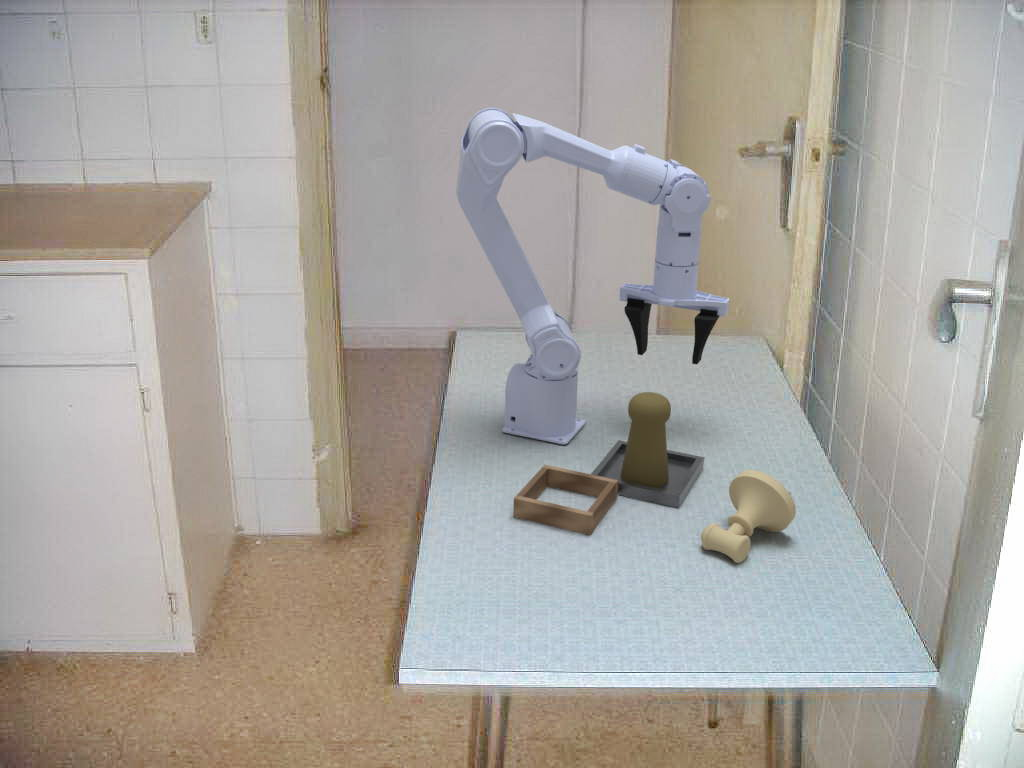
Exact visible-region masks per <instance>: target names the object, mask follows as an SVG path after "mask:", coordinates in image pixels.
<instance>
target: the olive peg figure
mask: <svg viewBox="0 0 1024 768" xmlns="http://www.w3.org/2000/svg"><path fill="white" fill-rule="evenodd" d="M627 407H628V408H627V410H628V412H627V413H628V417H629V418H630V419H631V424H630V429H629V433H628V438H627V441H626V442H627V447H626V451H625V456H624V461H623V466H622V471H621V478H622V480H623V481H625V482H630V483H634V484H639V485H644V486H648V487H653V488H656V487H660V486H663V485H665V484H666V483H667V482H668V481H669V474H668V458H667V450H668V446H667V431H666V430H667V429H666V428H667V427H666V423H667V422H668V421H669V420H670V417H671V415H672V414H671V413H672V412H671V411H672V407H671V402H670V400H669V399H668V398H667V397H666V396H665V395H662V394H660V393H658V392H653V391H645V392H639V393H638V394H635V395H633V396H632V397H631V399H629V403H628V406H627Z"/></svg>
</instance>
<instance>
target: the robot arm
mask: <svg viewBox="0 0 1024 768" xmlns="http://www.w3.org/2000/svg"><path fill="white" fill-rule="evenodd" d="M511 115H513V117H514V119H515V120H516V121H514V119H513V117H512V116H510V114H509V113H508V112H506V111H505V110H503V109H500V108H497V107H488V108H487V107H486V108H483V109H482V110H479V111H477V112H476V113H475V114H474V115H473V116H472V117H471V118H470V120H469V122H468V125H467V126H466V128H465V130H464V133H463V134H462V136H461V140H460V151H459V160H458V161H459V162H458V163H459V164H458V171H457V180H456V188H455V189H456V191H455V192H456V193H455V194H456V197H457V201H458V204H459V206H460V208H461V209H462V211H463V214H464V216H465V218H466V220H467V221H468V223H469V225H470V227H471V229H472V230H473V233H474V235H475V236H476V238H477V240H478V242H479V244H480V246H481V248H482V250H483V252H484V253H485V256H486V258H487V259H488V262H489V263H490V264H491V267H492V269H493V271H494V273H495V275H496V276H497V278H498V280H499V283H500V284H501V286H502V288H503V289H504V292H505V293H506V296H507V298H508V299H509V301H510V304H511V305H512V307H513V308H514V310H515V312H516V315H517V316H518V318H519V320H520V323H521V325H522V327H523V330H524V331H525V341H526V343H527V347H528V348H529V350H530V352H531V354H530V355H529V357H528V359H527V361H526V362H524V363H522V362H521V363H518V362H517V363H515V364H513V365H512V366H511V368H510V370H509V372H508V375H507V379H506V382H505V390H504V393H505V394H504V395H505V396H504V426H503V428H502V433H506V434H510V435H515V436H521V437H525V438H529V439H535V440H540V441H544V442H549V443H554V444H558V445H565V446H566V445H567V444H568V443H569V442H570V441H571V440H572V439H573V438H574V437H575V436H576V435H577V433H578V432H579V431H580V430H581V429H583V427H584V426H585V425H586V420H585V419H582V418H577V407H578V406H577V403H578V402H577V400H578V383H579V381H578V379H579V365H580V362H581V359H582V353H581V349H580V346H579V344H578V342H577V341H576V340H575V337H574V335H573V334H572V331H571V326H570V323H569V322H568V320H567V319H566V318H565V317H564V316H562V315H561V314H559V313H558V312H557V311H556V310H555V309H554V307H553V306H552V303H551V302H550V300H549V298H548V297H547V295H546V293H545V291H544V289H543V287H542V285H541V283H540V281H539V279H538V277H537V275H536V274H535V271H534V270H533V268H532V266H531V264H530V262H529V259H528V258H527V256H526V254H525V252H524V250H523V248H522V246H521V244H520V242H519V240H518V238H517V236H516V234H515V232H514V230H513V228H512V226H511V224H510V223H509V220H508V219H507V216H506V214H505V212H504V211H503V209H502V207H501V206H502V205H500V202H499V201H498V198H497V197H498V194H499V192H500V189H501V187H502V185H503V182H504V179H505V177H506V176H507V175H508V174H509V173H510V172H511V171H512V170H513V169H514V168H515V166H516V165H517V164H518V162H519V161H520V160H521V158H523V160H524V161H525V163H531V162H534V161H536V160H539V159H542V158H545V157H546V158H547V157H549V158H551V159H554V160H557V161H561V162H563V163H566V164H568V165H569V164H570V165H572V166H574V167H578V168H581V169H584V170H586V171H590V172H592V173H596V174H598V175H602V177H603V179H604V181H605V182H604V183H605V185H606V187H607V188H608V189H609V190H612V191H614V192H617V193H620V194H622V195H625V196H628V197H630V198H634V199H635V200H638V201H641V202H644V203H646V204H648V205H652V206H657V205H660V206H659V210H658V211H659V212H658V213H659V214H658V224H657V226H656V227H657V228H656V229H657V230H656V243H655V256H654V266H653V267H654V268H653V269H654V270H653V284H636V283H635V284H633V283H624V284H623V285H621V286H620V287H619V299H618V301H621V302H626V305H625V306H624V314H625V316H626V318H627V320H628V321H629V323H630V326H631V330H632V333H633V336H634V339H635V345H636V351H637V353H636V354H637V355H639V356H643V355H644V354H645V353H646V352H647V350H648V342H649V323H650V315H651V309H652V305H657V306H664V307H671V308H678V309H685V310H691V311H697V312H699V313H698V314H697V315H696V316H695V317H694V319H693V320H694V321H693V323H694V345H693V352H692V357H691V358H692V359H691V361H692V362H691V364H692V365H698V364H699V363H700V362H701V361H702V356H703V353H704V350H705V346H706V344H707V341H708V339H709V337H710V335H711V332H712V330H713V329H714V327H715V325H716V323H717V321H718V319H719V318H720V316H721V317H726V315H728V313H729V310H730V301H731V300H730V298H729V297H724V296H719V295H715V294H711V293H707V292H704V291H701V290H697V286H698V277H699V276H698V274H699V264H700V262H699V261H700V254H701V252H700V251H701V242H702V240H701V239H702V231H703V230H702V223H703V215H704V214H705V213H706V211H707V210H708V208H709V206H710V205H711V201H712V196H711V195H710V189H709V187H708V184H707V182H706V181H705V180H704V179H703V178H702V177H701V176H700V175H698V174H697V173H696V172H695V171H693V170H692V169H690V168H688V167H687V166H685V165H684V163H683V164H682V163H679V162H678V161H677V160H674V159H669V160H667V161H666V160H664V159H663V158H662V159H661V158H659V157H657V156H654V155H651V154H648V153H646V148H645V147H644V146H642V145H639V144H637V143H634V144H633V146H632V147H631V146H628V145H622V146H619V147H617V148H615V149H613V150H610V149H607V148H605V147H603V146H600V145H598V144H595V143H593V142H590V141H589V140H586V139H584V138H581V137H579V136H577V135H575V134H572V133H570V132H567V131H565V130H562V129H561V128H558V127H556V126H553V125H551V124H549V123H546V122H544V121H542V120H538V119H534V118H531V117H528V116H526V115H523V114H518V113H512V114H511Z"/></svg>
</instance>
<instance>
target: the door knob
mask: <svg viewBox="0 0 1024 768" xmlns="http://www.w3.org/2000/svg"><path fill="white" fill-rule="evenodd" d="M728 495H729V498H730V501H731V504H732V506H733V507H734V508H735V510H736V512H735V513H736V514H732V515H730V516H729V517H728V525H729V528H728V529H727V530H725V529H724V528H723V527H721V526H720V525H719V524H718V523H716V522H712V523H711V524H709V525H708V526H706V527H704V528H703V530H702V531H701V533H700V541H701V543H702V547H703V549H704V550H706V551H714V552H719V553H722V554H724V555H726V557H727V556H728V557H729V558H730V559H732V560H733V562H735V563H736V564H739V563H742V562H744V561H745V559H746V558H747V557H748V555H749V552H750V549H751V538H750V537H751V536H752V535H753V534H754V529H756V528H758V527H759V528H758V529H761V530H763V529H764V530H763V531H766V530H767V532H771V533H776V532H777V533H779V532H782V531H785V530H786V529H787V528H788V527H789V526H790V524H791V523H792V522H793V521H794V519H795V517H796V514H797V509H796V504H795V501H794V499H793V497H792V495H791V493H790V492H789V490H787V489H786V487H785V486H784V485H783V484H782V483H781V482H780V481H778V479H776V478H774V476H771V475H769V474H768V473H765V472H763V471H759V470H755V469H747V470H742V471H740V472H739V473H738V474H737V475H736V476H735V477H734V478H733V480H732V481H731V482H730V484H729V487H728Z"/></svg>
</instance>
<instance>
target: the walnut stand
mask: <svg viewBox="0 0 1024 768" xmlns="http://www.w3.org/2000/svg"><path fill="white" fill-rule="evenodd" d="M547 488H552V489H553V488H554V489H559V490H563V491H566V492H572V493H576V494H579V495H580V494H581V495H585V496H589V497H594V498H596V499H595V500H594V501H593V503H592V504H591V505H590V507H589V508H588V509H587V510H584V509H583V510H582V509H578V508H574V507H569V506H566V505H562V504H556V503H552V502H547V501H543V500H539V499H538V498H539V497H540V496H541V495H542V494H543V493H544V491H545V490H546V489H547ZM617 491H618V480H615V479H610V478H605V477H601V476H596V475H591V473H586V472H582V471H578V470H572V469H569V468H567V469H566V468H564V467H563V468H562V467H558V466H553V465H549V464H543V466H541V468H540V469H539V470H538V471H537V472H536V473H535V474H534V476H532V478H531V479H530V480H529V481H528V482H527V483H526V484H525V486H523V487H522V488H521V490H520V491H519V492H518V493H517V494H516V495H515V496H514V497H513V511H512V512H513V515H512V516H513V517H514V518H516V519H521V520H524V521H530V522H533V523H539V524H542V525H546V526H550V527H555V528H559V529H563V530H567V531H572V532H576V533H580V534H583V535H589V536H591V535H592V533H593V532H594V530H595V529H596V528H597V526H599V524H600V522H601V521H602V519H603V518H604V517H605V516H606V514H607V513H608V512H609V510H610V508H611V507H612V506H613V505H614V504H615V502H616V501H617V500H618V495H617Z"/></svg>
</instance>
